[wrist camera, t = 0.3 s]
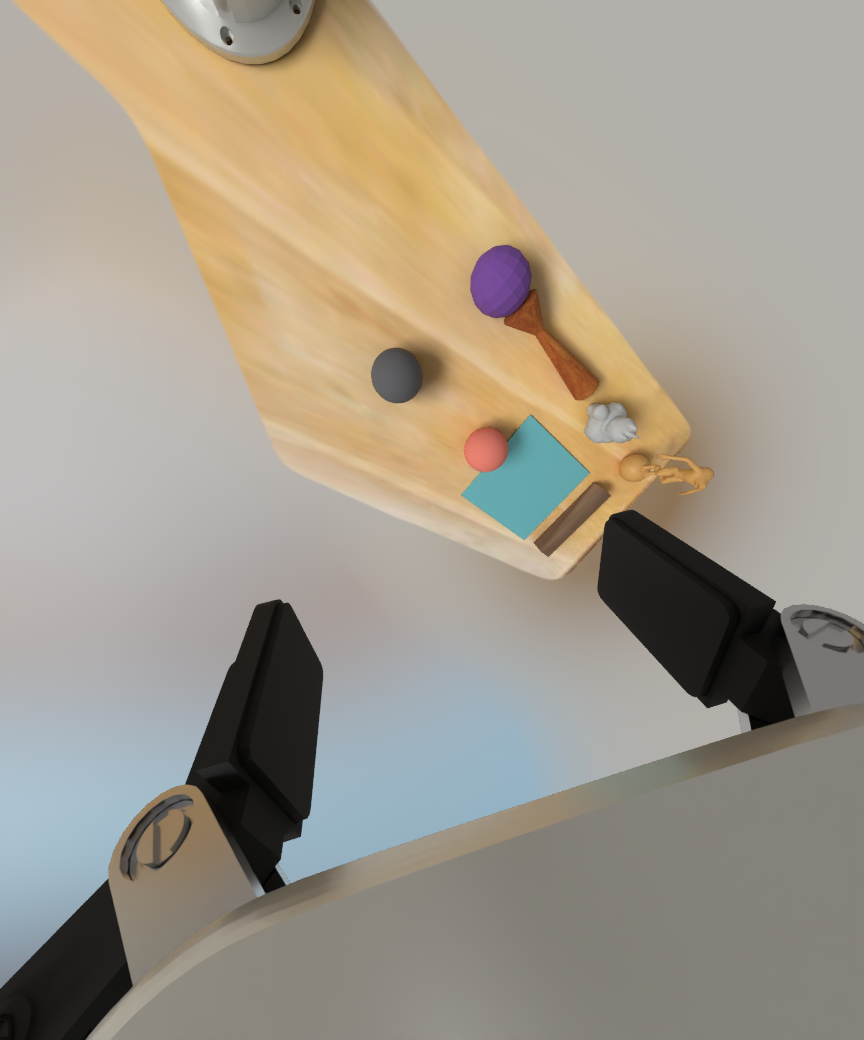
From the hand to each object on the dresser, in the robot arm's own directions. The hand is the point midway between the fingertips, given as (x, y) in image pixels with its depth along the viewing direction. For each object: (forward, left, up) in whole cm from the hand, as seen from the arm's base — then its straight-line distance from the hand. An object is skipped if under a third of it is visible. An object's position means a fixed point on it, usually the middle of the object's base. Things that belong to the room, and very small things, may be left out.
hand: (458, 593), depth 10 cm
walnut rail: (+34, +3, -35) cm, 49 cm away
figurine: (+35, +15, -35) cm, 52 cm away
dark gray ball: (0, +3, -32) cm, 32 cm away
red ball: (+14, +3, -32) cm, 35 cm away
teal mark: (+24, +3, -35) cm, 42 cm away
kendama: (+10, +16, -36) cm, 40 cm away
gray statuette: (+25, +15, -35) cm, 46 cm away
